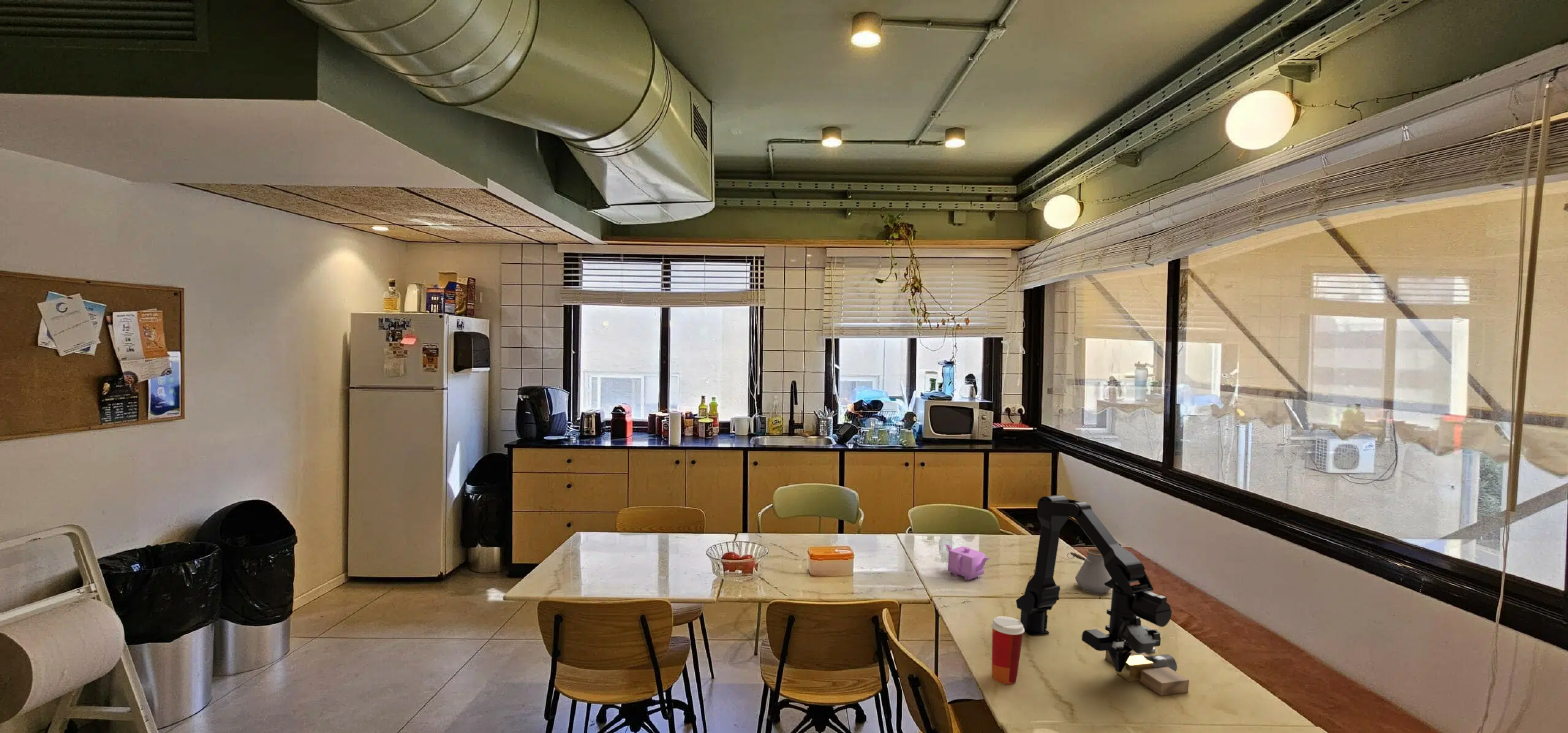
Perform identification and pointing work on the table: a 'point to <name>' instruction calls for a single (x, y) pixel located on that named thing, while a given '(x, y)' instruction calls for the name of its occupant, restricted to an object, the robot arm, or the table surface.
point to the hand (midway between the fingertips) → (1118, 671)
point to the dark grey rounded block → (1163, 661)
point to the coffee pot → (1092, 572)
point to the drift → (1135, 667)
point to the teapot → (966, 562)
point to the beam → (1161, 678)
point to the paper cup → (1006, 648)
